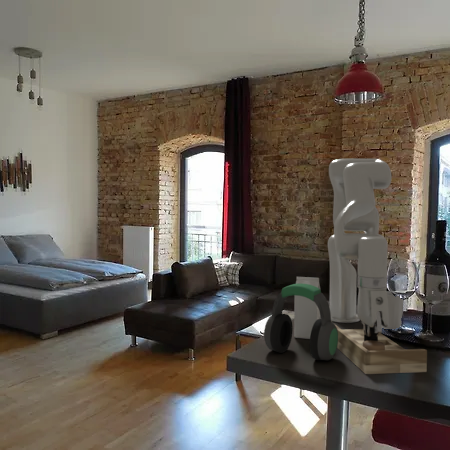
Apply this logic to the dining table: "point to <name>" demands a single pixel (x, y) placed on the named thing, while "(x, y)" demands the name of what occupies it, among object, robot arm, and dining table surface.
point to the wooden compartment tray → (380, 354)
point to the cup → (394, 311)
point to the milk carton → (305, 310)
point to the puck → (373, 345)
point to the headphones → (282, 326)
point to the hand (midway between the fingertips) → (370, 349)
